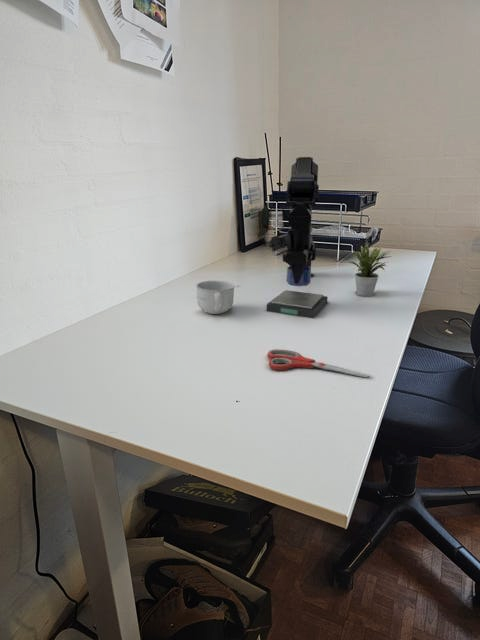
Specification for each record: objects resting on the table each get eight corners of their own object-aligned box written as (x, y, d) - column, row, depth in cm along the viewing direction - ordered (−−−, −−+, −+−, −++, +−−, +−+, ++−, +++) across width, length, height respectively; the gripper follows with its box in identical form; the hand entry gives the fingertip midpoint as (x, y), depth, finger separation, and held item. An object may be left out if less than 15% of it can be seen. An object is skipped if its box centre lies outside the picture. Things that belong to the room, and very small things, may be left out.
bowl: (300, 278, 120) (301, 264, 119) (315, 284, 115) (315, 268, 113) (282, 282, 117) (282, 267, 116) (295, 287, 112) (296, 272, 110)
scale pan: (286, 291, 125) (286, 290, 125) (323, 296, 120) (323, 294, 120) (271, 303, 115) (271, 301, 115) (311, 309, 110) (311, 307, 110)
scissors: (369, 378, 78) (369, 372, 78) (263, 369, 83) (263, 363, 82) (365, 361, 85) (366, 355, 85) (268, 353, 90) (268, 347, 89)
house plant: (381, 304, 119) (388, 250, 113) (336, 297, 126) (340, 245, 120) (393, 292, 130) (399, 241, 124) (351, 286, 137) (355, 238, 131)
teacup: (200, 304, 122) (198, 279, 119) (235, 304, 121) (235, 278, 119) (193, 321, 109) (192, 293, 106) (233, 321, 109) (232, 293, 106)
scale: (283, 297, 127) (284, 291, 127) (327, 302, 121) (327, 296, 121) (266, 311, 115) (266, 304, 115) (313, 318, 109) (313, 311, 109)
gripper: (278, 219, 120) (277, 270, 126) (264, 229, 104) (263, 287, 110) (315, 220, 117) (313, 272, 123) (307, 230, 101) (304, 290, 107)
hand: (298, 279), depth 116 cm, fingers closed on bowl, 7 cm apart
